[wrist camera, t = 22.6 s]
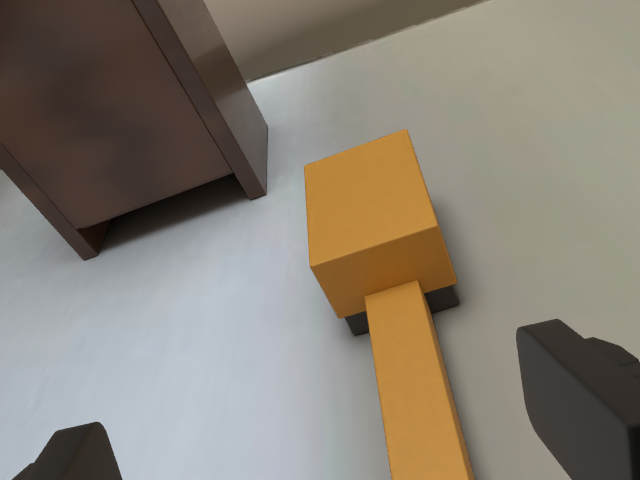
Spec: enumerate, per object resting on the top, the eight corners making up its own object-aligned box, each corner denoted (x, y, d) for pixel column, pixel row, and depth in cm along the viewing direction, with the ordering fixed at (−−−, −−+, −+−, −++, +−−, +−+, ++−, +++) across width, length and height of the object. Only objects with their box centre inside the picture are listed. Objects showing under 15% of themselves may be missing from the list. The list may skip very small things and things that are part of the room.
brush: (377, 576, 19) (322, 512, 16) (337, 235, 33) (303, 165, 30) (542, 541, 18) (517, 466, 15) (432, 203, 32) (406, 127, 29)
